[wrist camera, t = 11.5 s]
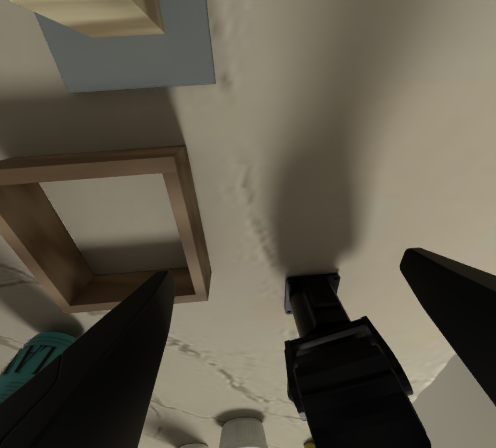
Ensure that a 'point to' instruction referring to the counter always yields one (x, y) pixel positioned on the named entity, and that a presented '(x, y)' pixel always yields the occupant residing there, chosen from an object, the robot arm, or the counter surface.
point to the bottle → (194, 445)
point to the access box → (62, 246)
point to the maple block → (102, 15)
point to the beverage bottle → (32, 360)
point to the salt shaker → (309, 445)
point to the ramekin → (243, 434)
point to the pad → (136, 53)
